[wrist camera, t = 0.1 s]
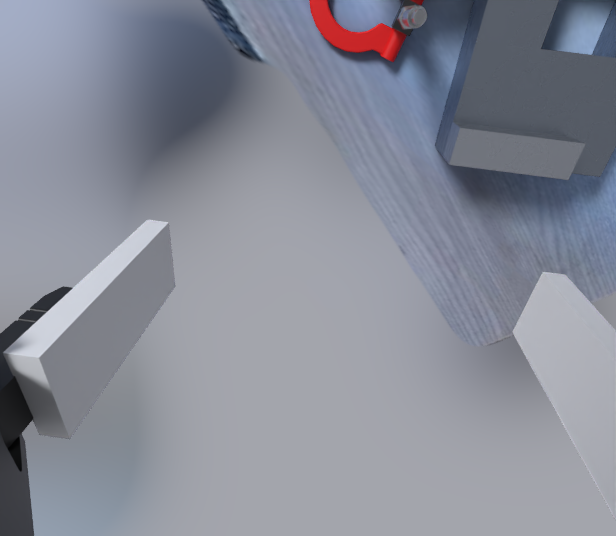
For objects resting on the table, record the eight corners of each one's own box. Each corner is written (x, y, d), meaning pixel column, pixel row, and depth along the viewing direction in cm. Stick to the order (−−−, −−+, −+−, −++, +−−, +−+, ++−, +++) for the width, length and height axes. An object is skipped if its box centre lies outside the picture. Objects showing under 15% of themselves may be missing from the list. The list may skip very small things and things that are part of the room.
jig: (501, -100, 28) (538, -133, 23) (693, -79, 28) (777, -107, 22) (434, 145, 38) (449, 164, 32) (577, 164, 37) (616, 186, 32)
